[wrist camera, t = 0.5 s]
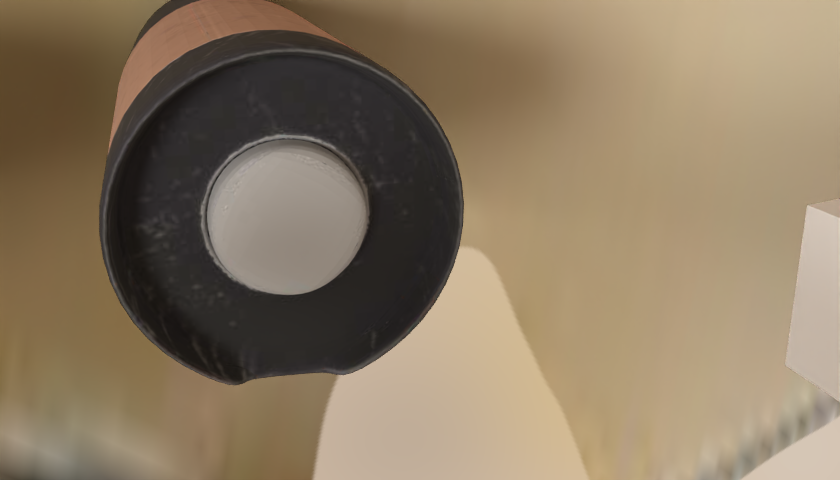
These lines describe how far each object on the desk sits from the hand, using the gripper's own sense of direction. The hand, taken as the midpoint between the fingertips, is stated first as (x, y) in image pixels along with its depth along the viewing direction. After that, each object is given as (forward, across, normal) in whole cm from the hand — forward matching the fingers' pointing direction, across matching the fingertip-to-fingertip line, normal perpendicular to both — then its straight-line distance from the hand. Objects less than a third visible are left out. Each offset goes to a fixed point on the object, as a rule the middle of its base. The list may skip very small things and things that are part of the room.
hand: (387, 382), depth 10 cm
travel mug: (+27, 0, 0) cm, 27 cm away
